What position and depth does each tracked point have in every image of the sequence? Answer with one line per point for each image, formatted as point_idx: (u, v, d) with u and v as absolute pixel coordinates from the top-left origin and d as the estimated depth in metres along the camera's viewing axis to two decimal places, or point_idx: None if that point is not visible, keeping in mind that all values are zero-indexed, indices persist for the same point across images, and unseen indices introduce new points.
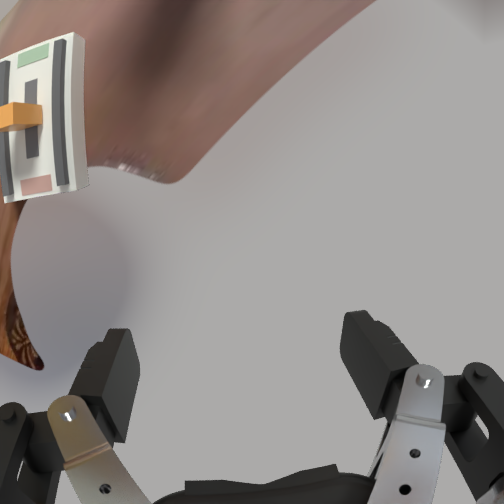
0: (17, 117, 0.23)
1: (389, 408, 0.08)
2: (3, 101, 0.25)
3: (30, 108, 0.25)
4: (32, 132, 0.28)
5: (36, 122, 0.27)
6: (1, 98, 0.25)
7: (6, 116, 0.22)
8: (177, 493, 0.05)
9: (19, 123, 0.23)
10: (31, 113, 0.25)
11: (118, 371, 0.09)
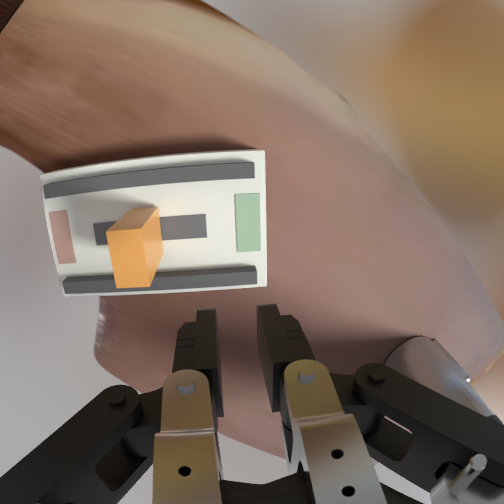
0: None
1: (280, 401, 0.09)
2: (179, 182, 0.23)
3: None
4: None
5: None
6: (185, 177, 0.23)
7: (128, 274, 0.19)
8: None
9: None
10: None
11: (217, 346, 0.10)
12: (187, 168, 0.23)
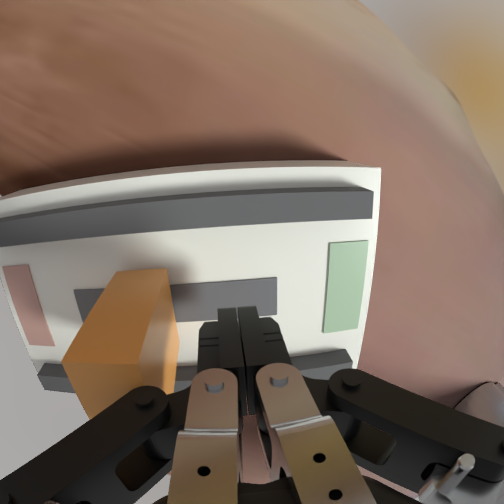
0: None
1: (255, 404, 0.08)
2: (236, 224, 0.12)
3: None
4: None
5: None
6: (249, 215, 0.12)
7: None
8: None
9: None
10: None
11: None
12: (252, 198, 0.12)
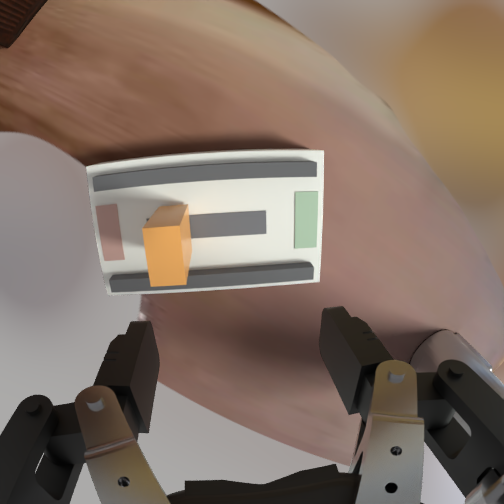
0: None
1: (362, 403, 0.08)
2: (244, 178, 0.24)
3: None
4: None
5: None
6: (250, 173, 0.24)
7: (164, 272, 0.20)
8: (177, 493, 0.05)
9: None
10: None
11: (142, 361, 0.09)
12: (252, 165, 0.23)
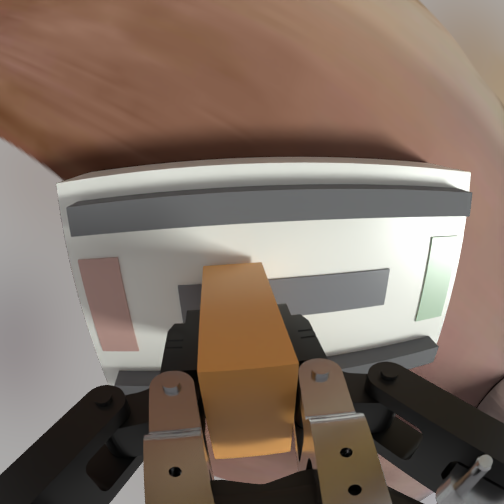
0: None
1: None
2: (373, 216, 0.12)
3: None
4: None
5: None
6: (385, 208, 0.12)
7: (247, 441, 0.08)
8: None
9: None
10: None
11: None
12: (390, 193, 0.12)
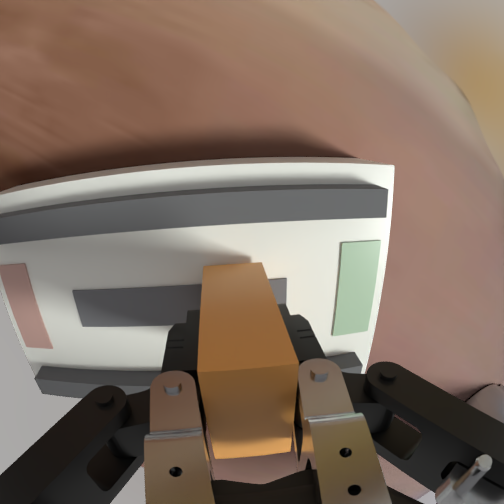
0: None
1: None
2: (246, 221, 0.12)
3: None
4: (138, 309, 0.14)
5: None
6: (259, 212, 0.11)
7: (247, 441, 0.08)
8: None
9: None
10: None
11: None
12: (263, 195, 0.11)
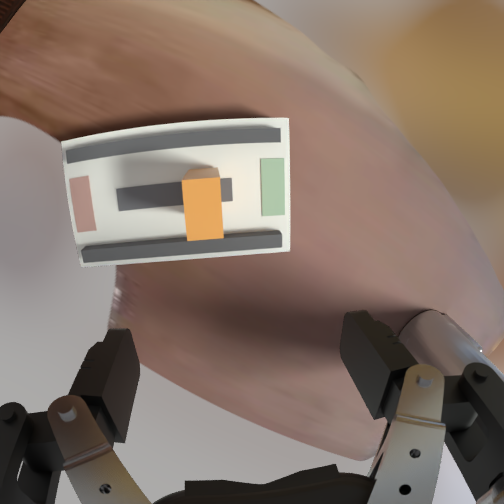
0: None
1: (390, 408, 0.08)
2: (208, 144, 0.24)
3: None
4: (152, 197, 0.26)
5: None
6: (214, 140, 0.23)
7: (201, 225, 0.20)
8: (177, 493, 0.05)
9: None
10: None
11: (118, 371, 0.09)
12: (216, 132, 0.23)
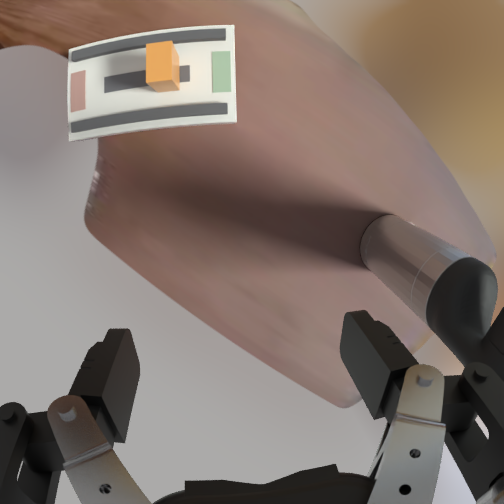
0: (155, 83, 0.25)
1: (389, 408, 0.08)
2: (172, 40, 0.27)
3: (171, 86, 0.27)
4: (130, 81, 0.29)
5: (157, 90, 0.29)
6: (177, 37, 0.27)
7: (157, 71, 0.24)
8: (177, 493, 0.05)
9: (149, 84, 0.25)
10: (165, 87, 0.28)
11: (117, 371, 0.09)
12: (178, 32, 0.27)
